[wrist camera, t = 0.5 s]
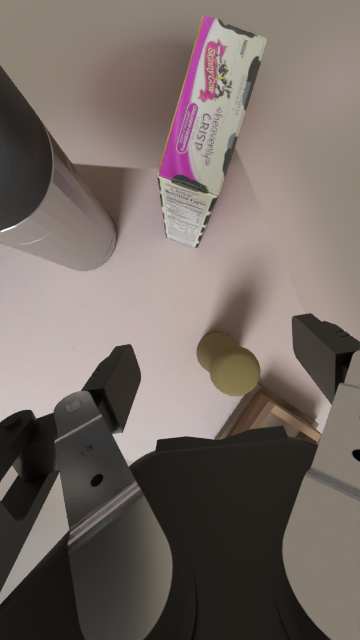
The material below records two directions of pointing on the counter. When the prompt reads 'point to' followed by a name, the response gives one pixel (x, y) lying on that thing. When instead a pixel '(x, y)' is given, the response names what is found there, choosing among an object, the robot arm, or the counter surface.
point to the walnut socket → (269, 416)
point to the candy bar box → (206, 126)
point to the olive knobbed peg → (228, 364)
